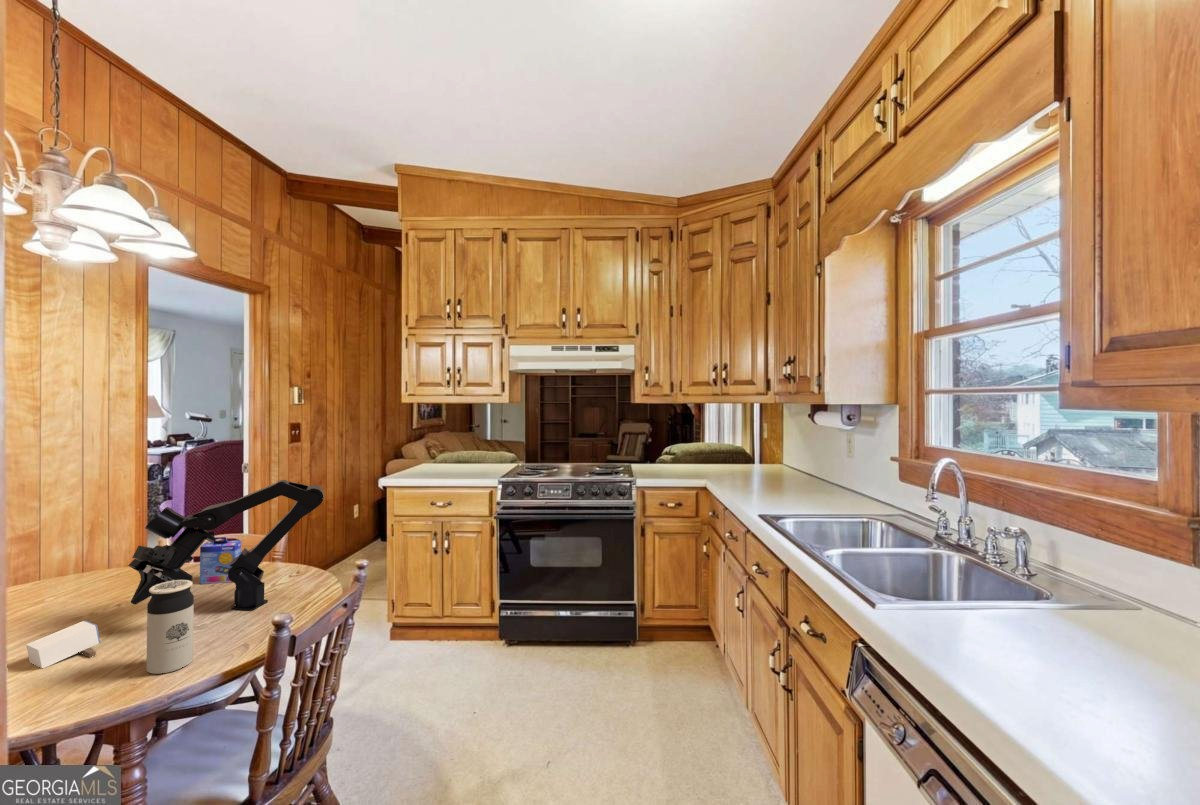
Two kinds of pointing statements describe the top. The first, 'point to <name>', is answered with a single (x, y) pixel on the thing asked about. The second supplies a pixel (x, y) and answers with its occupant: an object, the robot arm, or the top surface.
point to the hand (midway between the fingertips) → (132, 603)
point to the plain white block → (63, 644)
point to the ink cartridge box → (217, 560)
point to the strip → (88, 652)
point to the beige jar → (170, 626)
